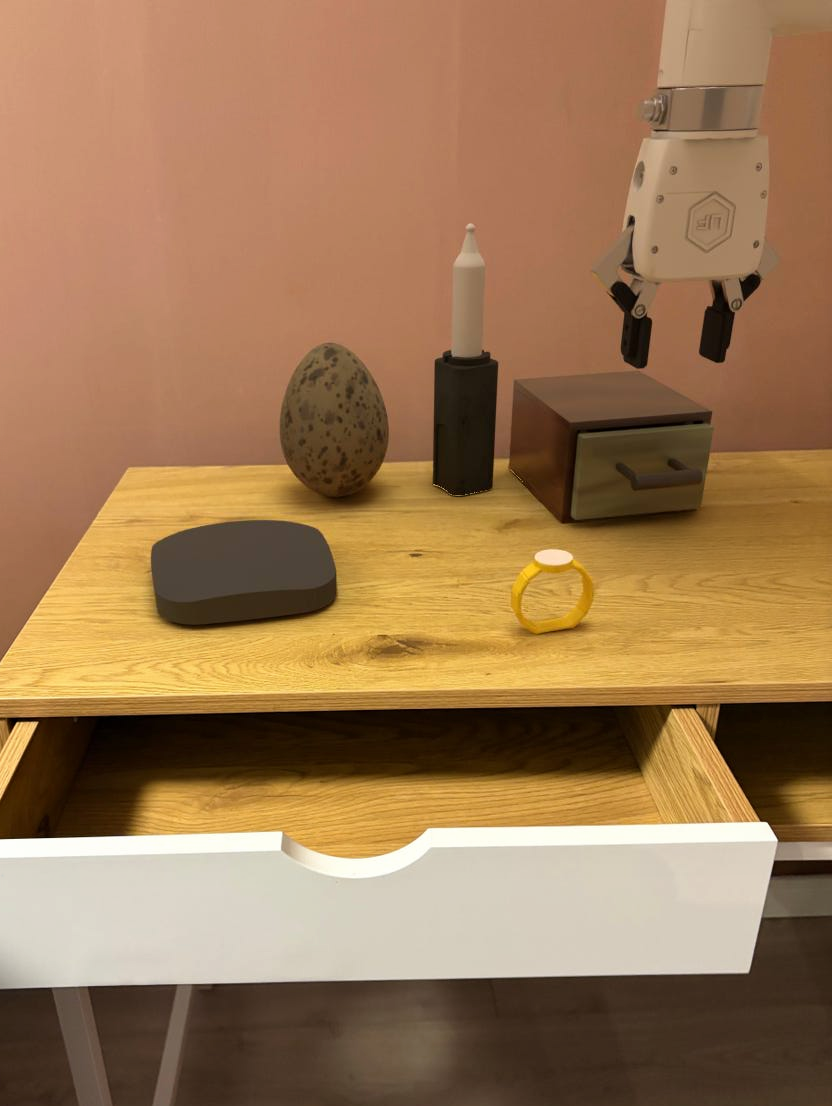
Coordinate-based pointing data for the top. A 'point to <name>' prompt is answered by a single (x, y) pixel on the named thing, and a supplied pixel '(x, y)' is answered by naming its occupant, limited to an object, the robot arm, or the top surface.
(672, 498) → the drawer
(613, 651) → the top surface
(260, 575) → the media streaming box
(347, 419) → the decorative egg
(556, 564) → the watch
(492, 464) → the candle
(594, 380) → the cabinet
